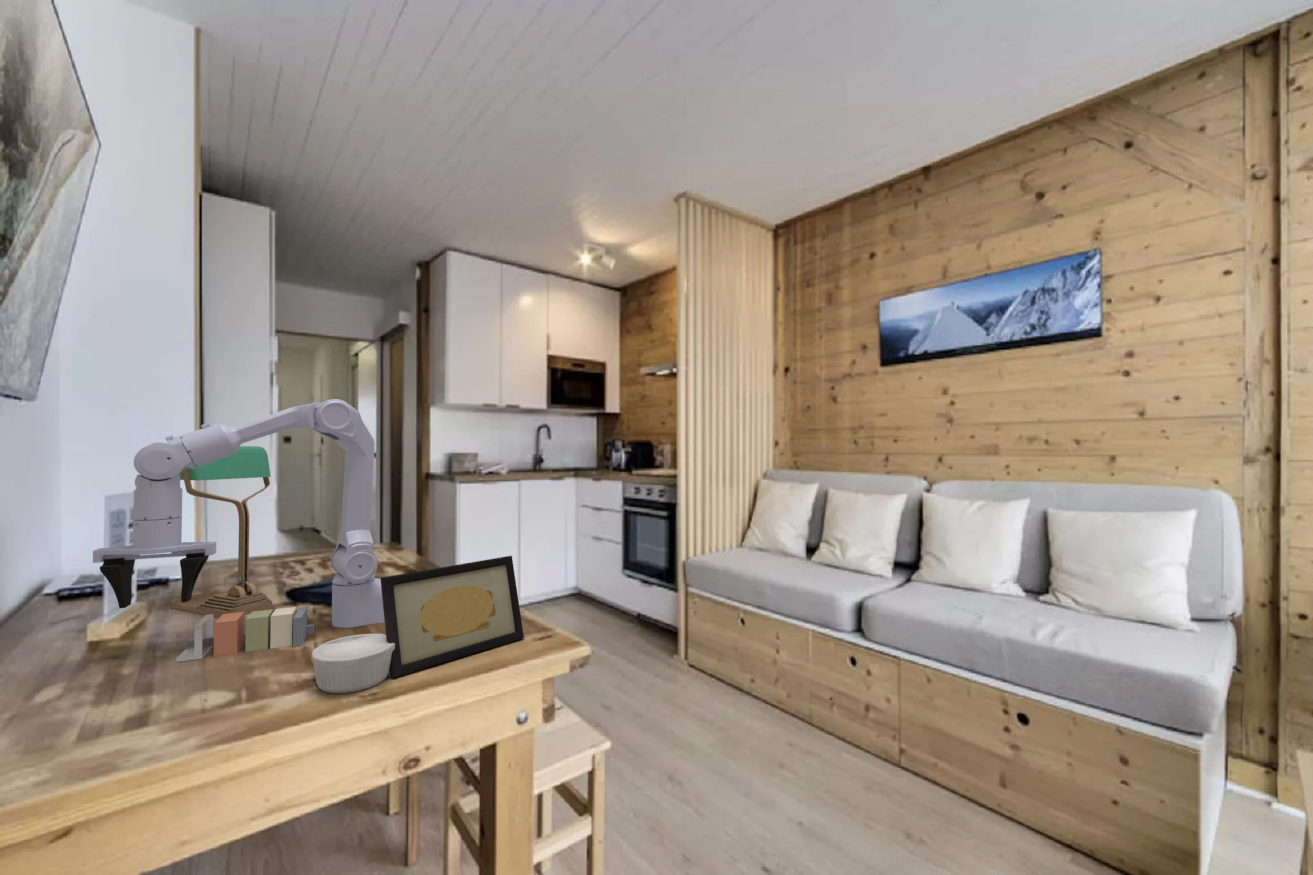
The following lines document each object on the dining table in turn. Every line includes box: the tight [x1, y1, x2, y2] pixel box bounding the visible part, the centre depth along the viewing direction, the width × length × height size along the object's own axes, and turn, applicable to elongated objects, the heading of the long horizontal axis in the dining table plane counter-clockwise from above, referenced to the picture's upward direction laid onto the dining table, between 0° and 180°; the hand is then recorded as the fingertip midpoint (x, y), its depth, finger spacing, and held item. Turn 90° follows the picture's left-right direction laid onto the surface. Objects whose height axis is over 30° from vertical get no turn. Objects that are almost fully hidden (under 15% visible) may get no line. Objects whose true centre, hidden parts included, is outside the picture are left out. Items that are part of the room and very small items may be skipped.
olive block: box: [244, 608, 274, 653], centre depth 91 cm, size 3×4×6 cm
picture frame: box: [379, 555, 525, 679], centre depth 93 cm, size 23×9×15 cm, turn 137°
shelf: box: [186, 606, 315, 648], centre depth 90 cm, size 18×8×6 cm, turn 116°
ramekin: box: [310, 633, 395, 694], centre depth 81 cm, size 11×11×5 cm
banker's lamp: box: [170, 445, 273, 619], centre depth 116 cm, size 16×21×35 cm
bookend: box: [175, 614, 214, 663], centre depth 87 cm, size 3×6×6 cm, turn 26°
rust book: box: [213, 612, 246, 657], centre depth 89 cm, size 3×5×6 cm, turn 26°
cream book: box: [269, 606, 298, 650], centre depth 93 cm, size 3×4×6 cm
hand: (156, 603), depth 85 cm, fingers open, 7 cm apart
